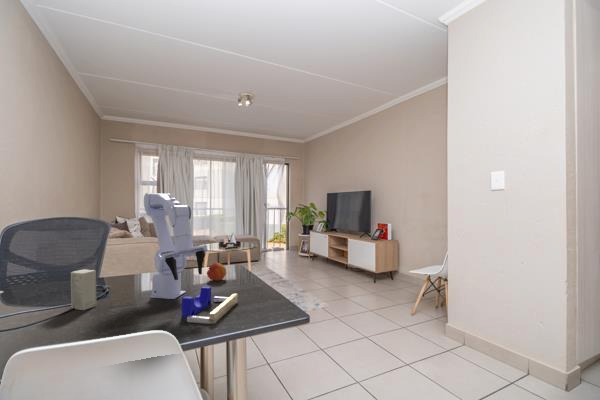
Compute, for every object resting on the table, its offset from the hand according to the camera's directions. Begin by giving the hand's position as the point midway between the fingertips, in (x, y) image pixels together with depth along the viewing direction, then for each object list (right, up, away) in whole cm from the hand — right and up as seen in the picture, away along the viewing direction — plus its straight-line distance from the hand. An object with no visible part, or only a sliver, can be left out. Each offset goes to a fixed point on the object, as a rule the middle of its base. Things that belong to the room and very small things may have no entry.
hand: (188, 277), depth 93 cm
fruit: (0, -11, +33) cm, 35 cm away
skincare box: (-35, -10, 0) cm, 37 cm away
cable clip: (+3, -11, -1) cm, 11 cm away
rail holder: (+9, -11, -2) cm, 14 cm away
